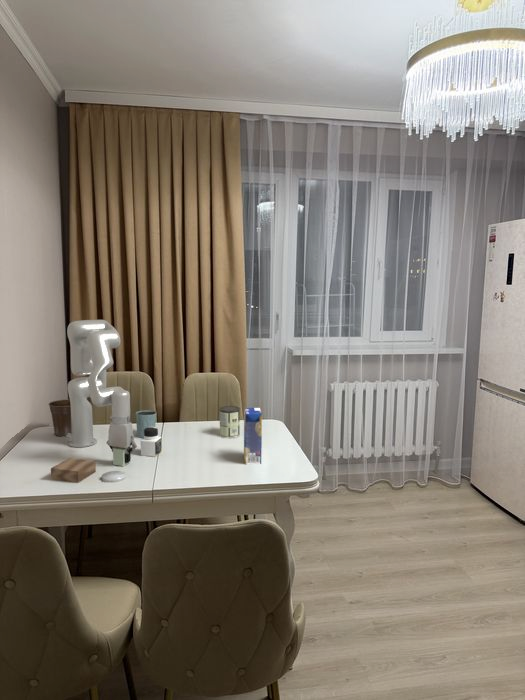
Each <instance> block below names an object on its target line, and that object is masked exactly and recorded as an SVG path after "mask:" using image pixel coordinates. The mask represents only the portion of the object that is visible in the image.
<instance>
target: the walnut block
mask: <svg viewBox="0 0 525 700" xmlns="http://www.w3.org/2000/svg"><path fill="white" fill-rule="evenodd" d="M96 467H97V466H96V460H91V459H83V458H82V459H81V458H73V457H69V458H67V459H66V460H64V461H62V462H60V463H57V464H55V465H54V466H52V467H51V468H50V480H51V479H53V480H52V481H58V480H59V482H68V483H76V484H78V483H79V484H80V483H81V482H82V481H84V480H85V479H87V478H89V477H90V476H91V475H93V474H95V473H96V472H97V468H96Z"/></svg>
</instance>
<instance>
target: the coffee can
mask: <svg viewBox="0 0 525 700" xmlns="http://www.w3.org/2000/svg"><path fill="white" fill-rule="evenodd" d="M240 411H241V407H238V406H235V405H224V406H221V407H219V437H221V438H224V439H235V438H238V437H240V436H241V435H240V434H241V433H240V430H241V429H240V428H241V427H240V426H241V425H240V416H241V415H240Z"/></svg>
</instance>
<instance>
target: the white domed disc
mask: <svg viewBox="0 0 525 700" xmlns="http://www.w3.org/2000/svg"><path fill="white" fill-rule="evenodd" d="M126 478H127V477H126V472H125V471H122V470H112V471H107V472H104V473H102V474H101V481H103V482H104V483H105V482H106V483H117V482H118V483H119V482H121V481H123V480H125V479H126Z"/></svg>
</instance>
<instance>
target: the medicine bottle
mask: <svg viewBox="0 0 525 700" xmlns="http://www.w3.org/2000/svg"><path fill="white" fill-rule="evenodd" d="M144 437H145V438H141V440H140V456H143V457H154V458H155V457H157V456H158V455H160V453H162V451H163V450H162V445H163V444H162V441H163V440H162V437H161V436H159V429H158V428H157V427H156V426H155V427H147V428H145V429H144Z"/></svg>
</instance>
